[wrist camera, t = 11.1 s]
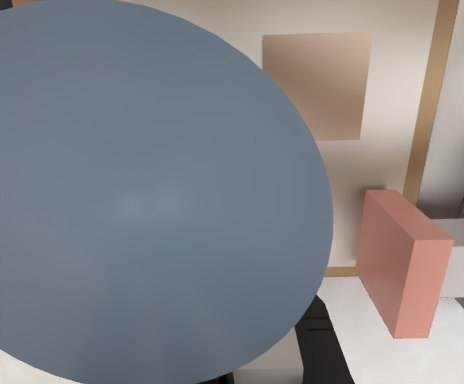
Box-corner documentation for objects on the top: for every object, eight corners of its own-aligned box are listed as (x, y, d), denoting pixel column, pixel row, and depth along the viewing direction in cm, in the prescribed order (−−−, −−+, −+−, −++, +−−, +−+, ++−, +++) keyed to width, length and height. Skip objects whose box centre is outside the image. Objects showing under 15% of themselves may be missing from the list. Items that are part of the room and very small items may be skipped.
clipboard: (17, -17, 12) (2, -21, 11) (456, -32, 12) (470, -38, 11) (88, 277, 17) (81, 287, 16) (395, 271, 17) (402, 281, 16)
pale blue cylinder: (159, 46, 12) (-211, 6, 2) (251, 43, 12) (358, -13, 2) (169, 136, 13) (-23, 393, 3) (252, 134, 13) (317, 386, 3)
